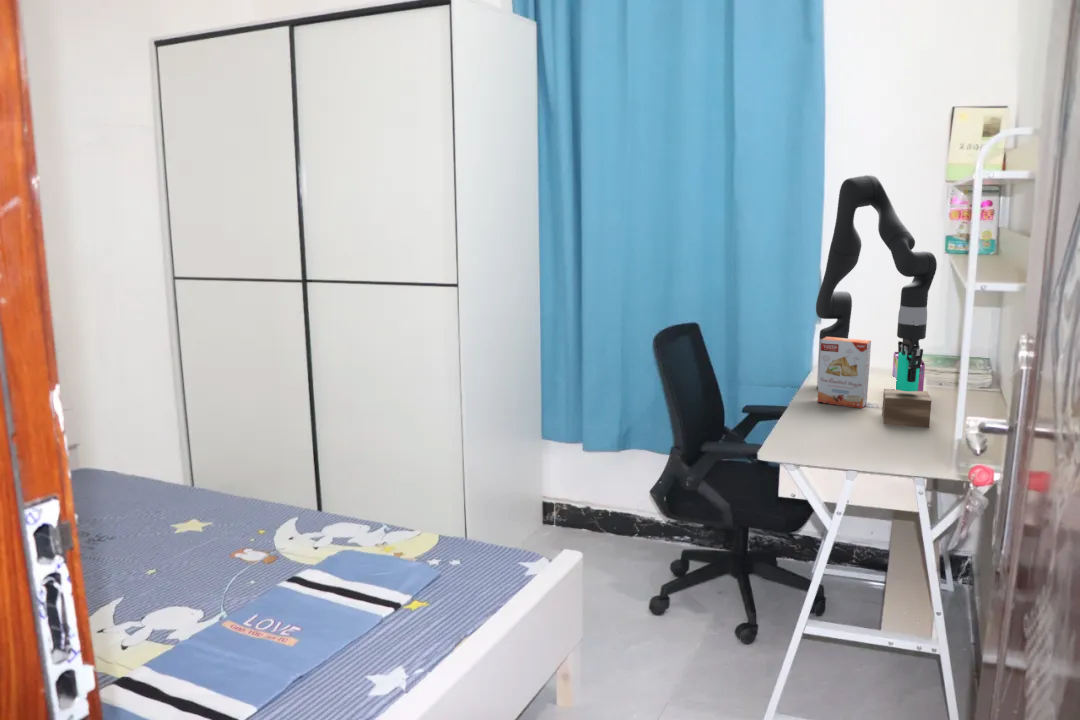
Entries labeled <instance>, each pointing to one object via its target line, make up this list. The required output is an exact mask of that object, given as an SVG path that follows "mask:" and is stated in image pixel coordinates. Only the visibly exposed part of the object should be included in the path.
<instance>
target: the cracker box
mask: <svg viewBox="0 0 1080 720" xmlns="http://www.w3.org/2000/svg"><path fill="white" fill-rule="evenodd" d="M871 345H872V340H868V339H867V340H866V339H856V338H848V339H847V338H836V337H825V338H823V339H822V340H821V354H820V370H819V385H818V388H817V390H818V391H817V403H818V402H823V403H822V404H826V403H830V404H829V405H834V404H838V405H837V406H841V405H844V406H843V407H849V408H850V407H851V408H857V409H864V408H865V406H867V404H868V403H867V402H868V390H869V378H870V377H869V375H870V363H871V351H872V350H871V347H872V346H871ZM866 403H867V404H866Z"/></svg>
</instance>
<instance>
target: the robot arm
mask: <svg viewBox="0 0 1080 720" xmlns="http://www.w3.org/2000/svg"><path fill="white" fill-rule="evenodd" d="M837 200H838V201H837V202H838V203H837V211H836V218H835V223H834V224H835V226H834V229H833V235H832V239H831V243H830V248H829V251H828V257H827V261H826V262H827V263H826V267H825V271H824V276H823V279H822V282H821V285H820V288H819V291H818V294H817V298H816V305H815V312H816V313H815V314H816V316H817V317H818V318H819V319H823V320H836V321H835V322H834V323H833V324H832V325H829V326H827V327H824V328H822V329H820V330H819V339H818V354H817V355H818V356H817V358H818V360H817V375H816V379H817V380H816V387H817V386H818V385H819V370H820V354H821V340H822V339H823V338H825V337H836V338H847V339H849V335H850V334H849V333H850V327H851V326H850V325H851V324H850V323H851V317H852V308H853V300H852V295H851V293H850V292H848V291H839V290H838V291H835V289H836V287H837V285H839V283H840V282H841V281H842V280H843V279H844V278H845V277H846V276H848V274H850V273H851V272H852V270H854V269H855V267H856V266H857V264H858V262H859V259H860V254H861V250H862V239H861V237H860V234H859V232H858V231H857V228H856V227H855V224H854V223H855V222H854V219H855V214H856V211H857V209H858V208H864V207H869V206H871V207H873V209H874V210H875V211H876V213H877V214H878V222H877V223H878V224H877V226H878V229H877V230H878V233H879V237H880V238H881V241H883V243H884V244H885V245H886V247H887V249H889V251H890V254H891V256H892V260H893V262H894V266H895V268H896V271H898V273H899V274H901V275H902V276H904V277H906V278H913V279H912V282H910V283H909V284H905V285H904V286H903V287H902V288H901V291H900V303H899V304H900V305H899V311H898V316H897V329H896V330H897V331H896V337H898V338H899V339H901V340H898V343H897V345H898V346H897V347H898V348H897V352H898V355H899V353H900V352H901V354H904V355H905V356H906V360H907V361H908V375H907V381H908V382H915V380H916V369H918V368H920V366H921V360H923V353H924V349H923V348H920V342H919V341H920V340H925V338H926V336H927V325H928V324H927V322H928V299H929V291H930V288H931V286H932V283H933V280H934V277H935V275H936V272H937V267H938V265H937V264H938V263H937V259H936V256H935V255H934V254H933V253H932V252H931V251H924V250H923V251H912V250H913V249H914V247H915V246H916V240H915V238H914V237H913V234H911V233H910V231H909V230H908V228H907V227H906V225H905V224H903V222H902V220H901V219H900V217H899V216H898V214H897V212H896V210H895V208H894V205H893V204H892V202H891V199H890V198H889V196H888V194H887V192H886V190H885V188H884V186H883V184H882V182H881V181H880V180H879V178H878V177H877V176H876V175H873V174H866V175H860V176H859V175H858V176H854V177H850V178H847V179H845V180H843V182H842V183H841V185H840V189H839V194H838V199H837ZM909 355H912V357H911V358H909ZM914 361H915V364H914Z"/></svg>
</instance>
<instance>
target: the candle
mask: <svg viewBox="0 0 1080 720" xmlns="http://www.w3.org/2000/svg"><path fill="white" fill-rule="evenodd" d="M911 357H912V355H909V358H911ZM914 364H915V361H914ZM919 370H920V368H918V369H916V380H915V382H908V381H907V375H908V361H907V360H906V356H905V355H904V354H901V352H900V353H899V355H898V368H897V381H896V389H898V390H901V391H918V383H919Z"/></svg>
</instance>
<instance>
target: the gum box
mask: <svg viewBox="0 0 1080 720" xmlns="http://www.w3.org/2000/svg"><path fill="white" fill-rule="evenodd" d="M892 358H893V360H892V374H891V375H892V376H893V377H895V378H896V380H897V368H898V351H894V352H893V356H892ZM925 364H926V363H925V362H924V360H923V359H922V360H921V366H920V370H919V383H918V391H924V385H925V384H924V383H925V369H926V368H925V367H926V365H925ZM896 390H898V389H896Z"/></svg>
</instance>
